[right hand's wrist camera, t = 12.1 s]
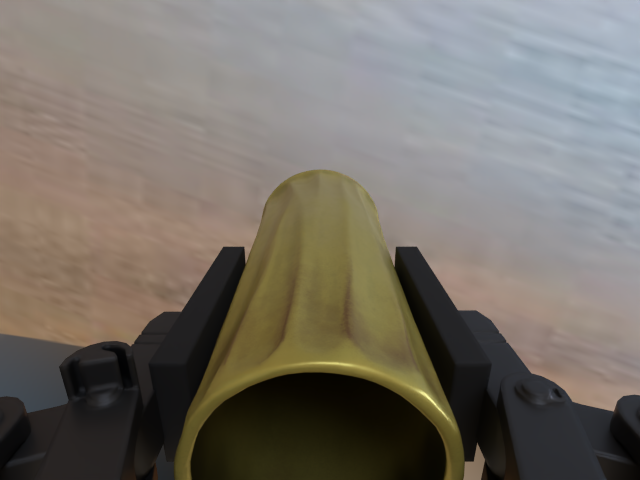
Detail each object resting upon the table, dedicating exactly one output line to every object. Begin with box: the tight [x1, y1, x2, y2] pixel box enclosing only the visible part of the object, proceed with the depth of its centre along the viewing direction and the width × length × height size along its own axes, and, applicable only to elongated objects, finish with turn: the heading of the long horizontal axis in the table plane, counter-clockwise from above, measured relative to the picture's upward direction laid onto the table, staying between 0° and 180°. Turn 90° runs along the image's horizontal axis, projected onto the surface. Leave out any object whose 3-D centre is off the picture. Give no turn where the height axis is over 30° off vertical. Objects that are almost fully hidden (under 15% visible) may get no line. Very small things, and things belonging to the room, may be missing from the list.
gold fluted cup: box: [174, 170, 465, 480], centre depth 13 cm, size 6×6×14 cm
